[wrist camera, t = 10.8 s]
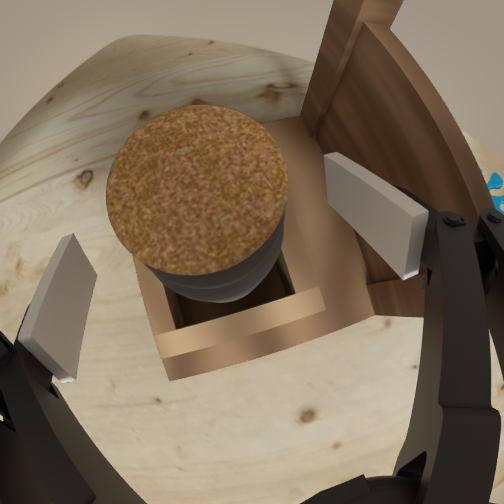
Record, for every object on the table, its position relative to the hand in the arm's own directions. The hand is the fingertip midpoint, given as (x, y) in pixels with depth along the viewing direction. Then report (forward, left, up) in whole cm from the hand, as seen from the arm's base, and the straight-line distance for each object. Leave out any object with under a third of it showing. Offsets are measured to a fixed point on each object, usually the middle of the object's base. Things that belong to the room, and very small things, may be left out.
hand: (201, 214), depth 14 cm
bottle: (+1, -1, -9) cm, 9 cm away
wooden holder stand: (+2, +2, -9) cm, 10 cm away
